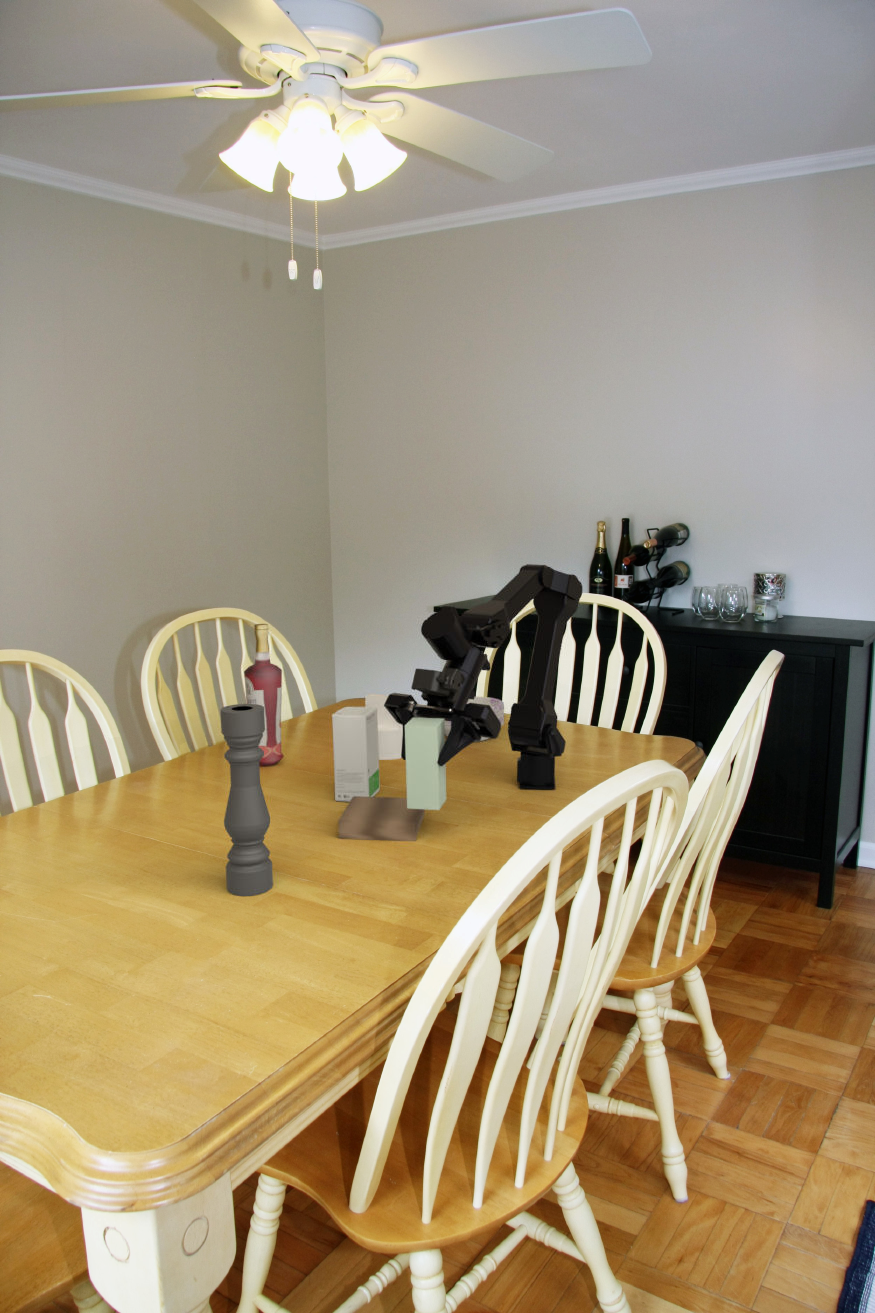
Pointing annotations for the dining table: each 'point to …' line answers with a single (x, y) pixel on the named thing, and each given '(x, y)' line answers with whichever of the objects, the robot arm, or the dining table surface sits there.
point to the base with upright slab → (386, 729)
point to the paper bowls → (494, 704)
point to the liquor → (266, 696)
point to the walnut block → (380, 819)
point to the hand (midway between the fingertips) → (421, 761)
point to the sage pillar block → (425, 763)
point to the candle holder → (246, 802)
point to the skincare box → (355, 752)
